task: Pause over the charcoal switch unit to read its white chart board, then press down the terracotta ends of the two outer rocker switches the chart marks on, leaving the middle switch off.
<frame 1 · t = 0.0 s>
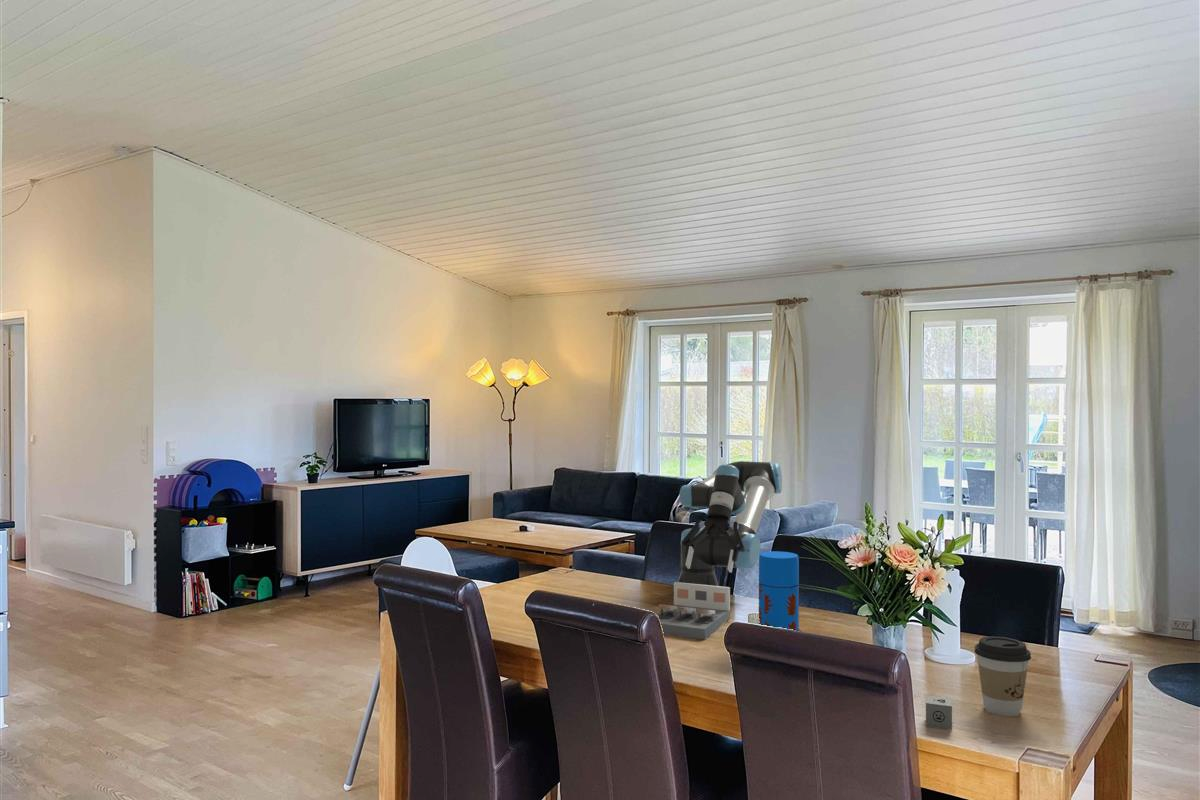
hand: (708, 568, 263), 15 cm above the table, tool tilted 35°, fingers open, 13 cm apart
coffee cup: (1002, 711, 185), on the table
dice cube: (939, 725, 178), on the table
switch 2: (686, 609, 252), point 5 cm above the table, hinge at -14.0°
switch 3: (706, 611, 250), point 5 cm above the table, hinge at -14.0°
thermos: (778, 645, 234), on the table
switch 1: (668, 607, 255), point 5 cm above the table, hinge at -14.0°
switch unit: (689, 625, 254), on the table
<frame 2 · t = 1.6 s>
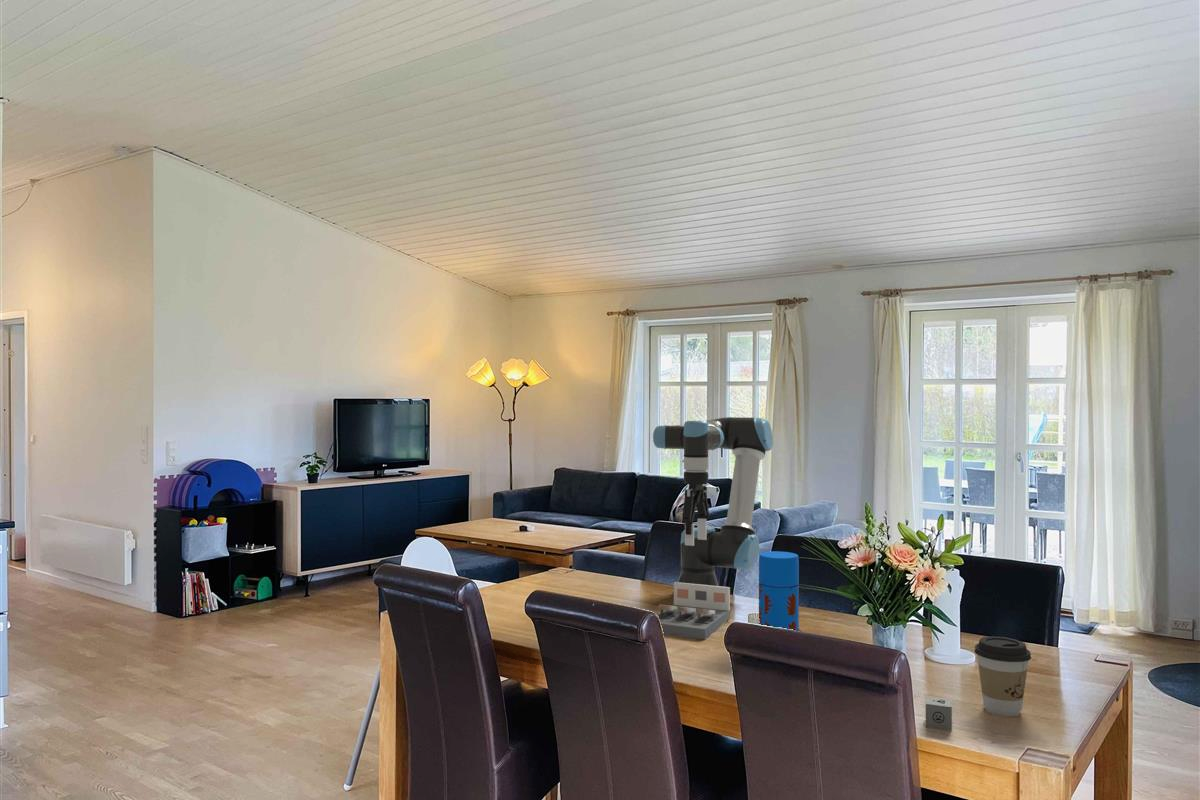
hand: (695, 542, 260), 24 cm above the table, tool pointing down, fingers open, 11 cm apart
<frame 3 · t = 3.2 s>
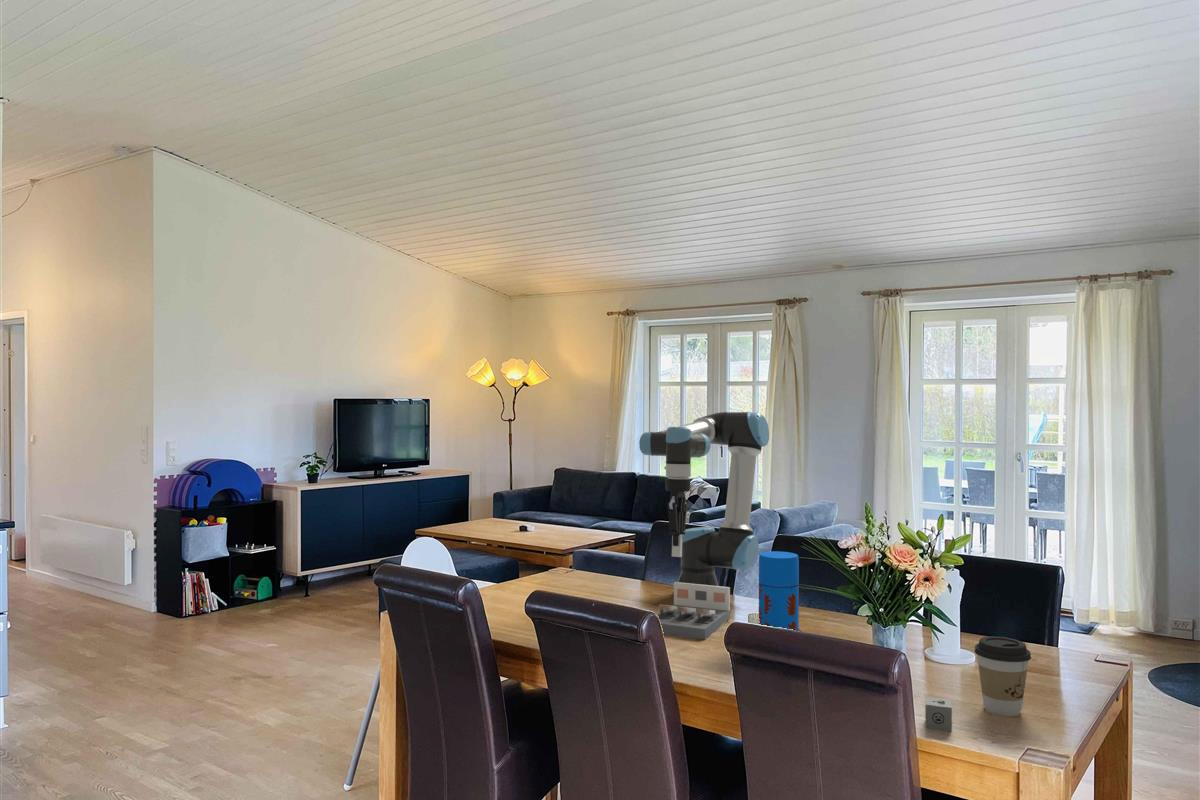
hand: (676, 556, 254), 21 cm above the table, tool pointing down, fingers closed
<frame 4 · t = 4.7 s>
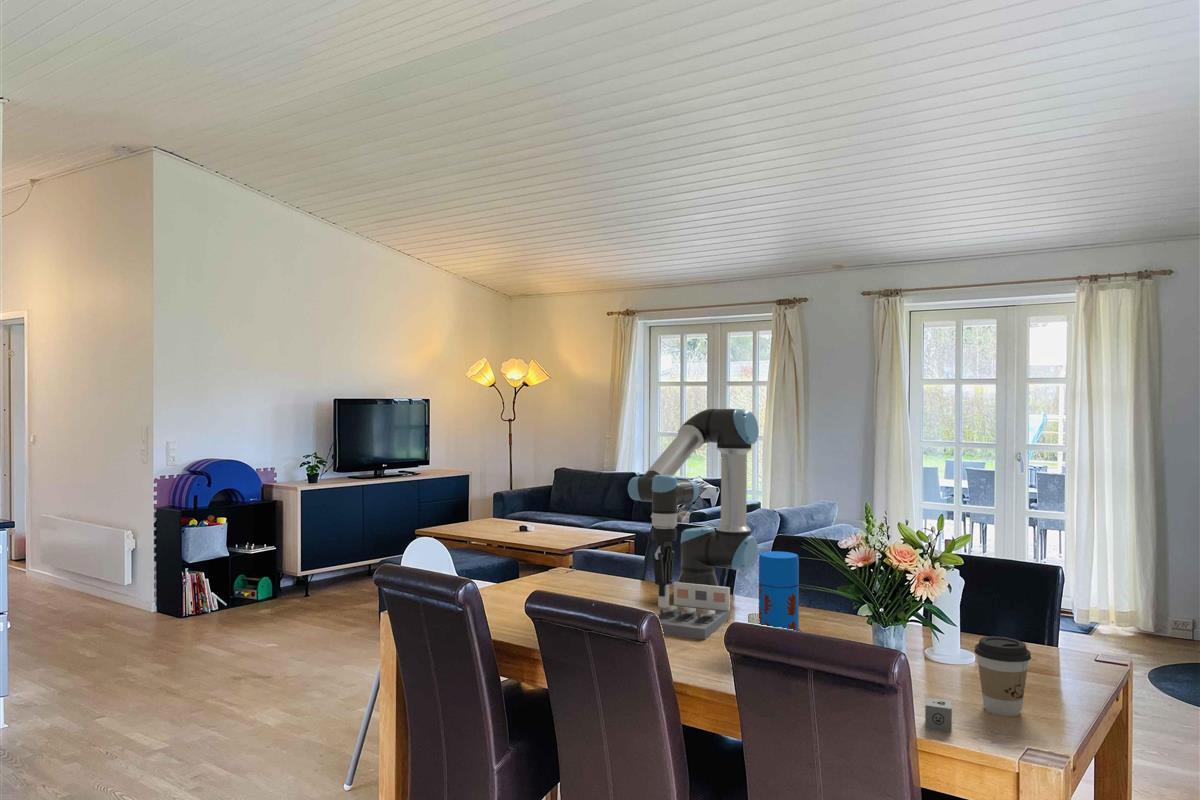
hand: (663, 606, 252), 6 cm above the table, tool pointing down, fingers closed
switch 1: (668, 607, 255), point 5 cm above the table, hinge at -13.4°, touching gripper
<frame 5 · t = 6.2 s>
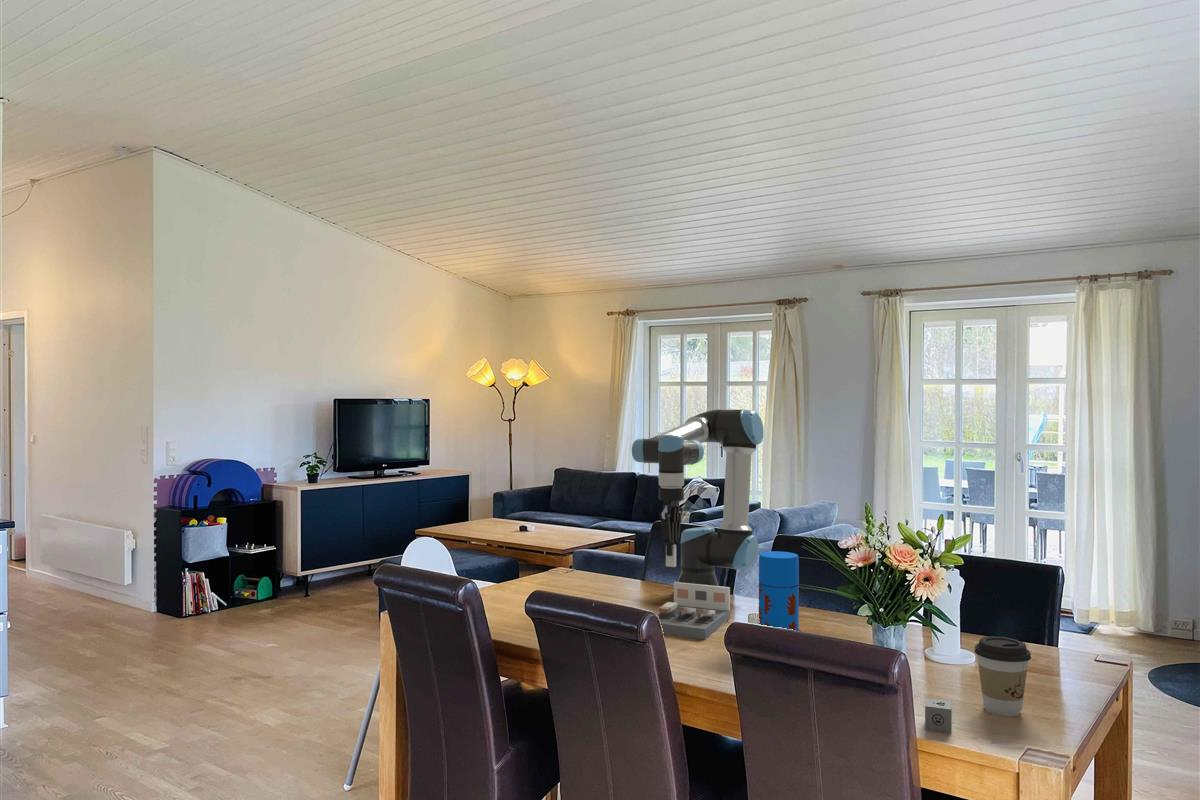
hand: (671, 566, 251), 18 cm above the table, tool pointing down, fingers closed
switch 1: (668, 607, 255), point 5 cm above the table, hinge at 0.9°
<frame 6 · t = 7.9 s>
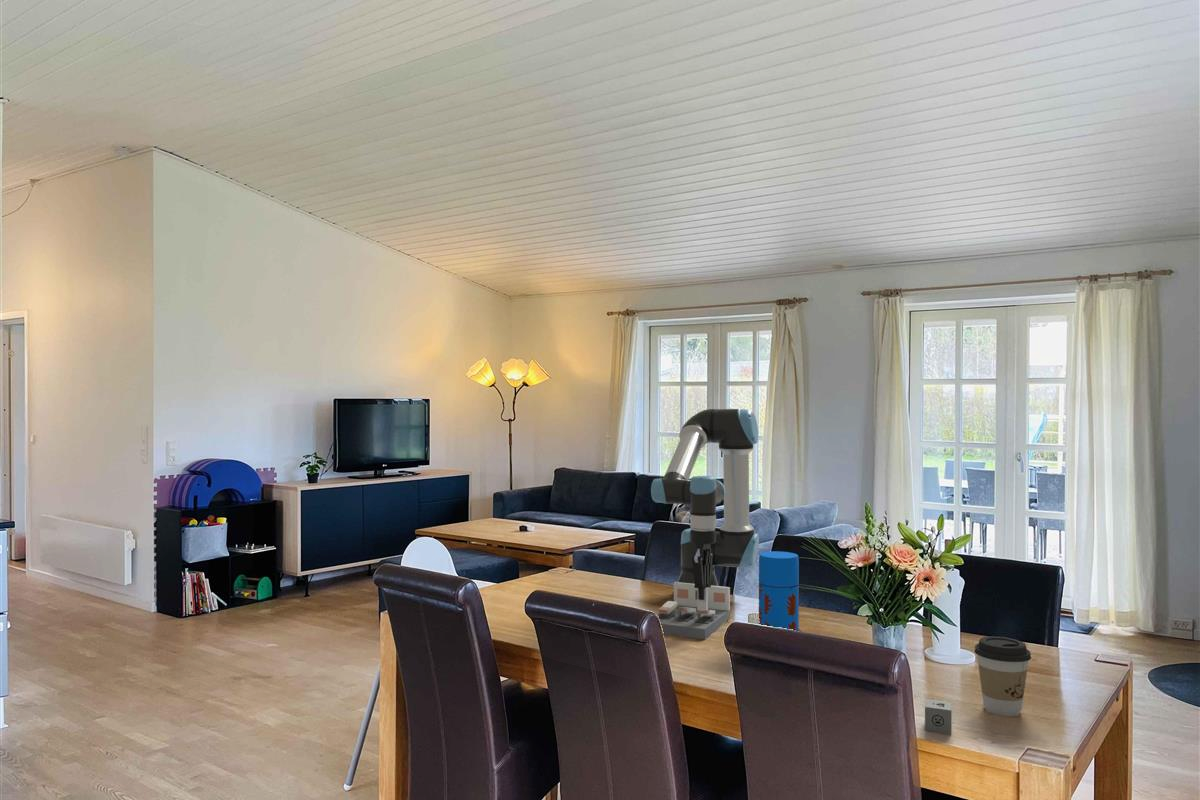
hand: (702, 610, 247), 7 cm above the table, tool pointing down, fingers closed
switch 3: (706, 611, 250), point 5 cm above the table, hinge at -14.0°, touching gripper
switch 1: (668, 607, 255), point 5 cm above the table, hinge at 5.9°
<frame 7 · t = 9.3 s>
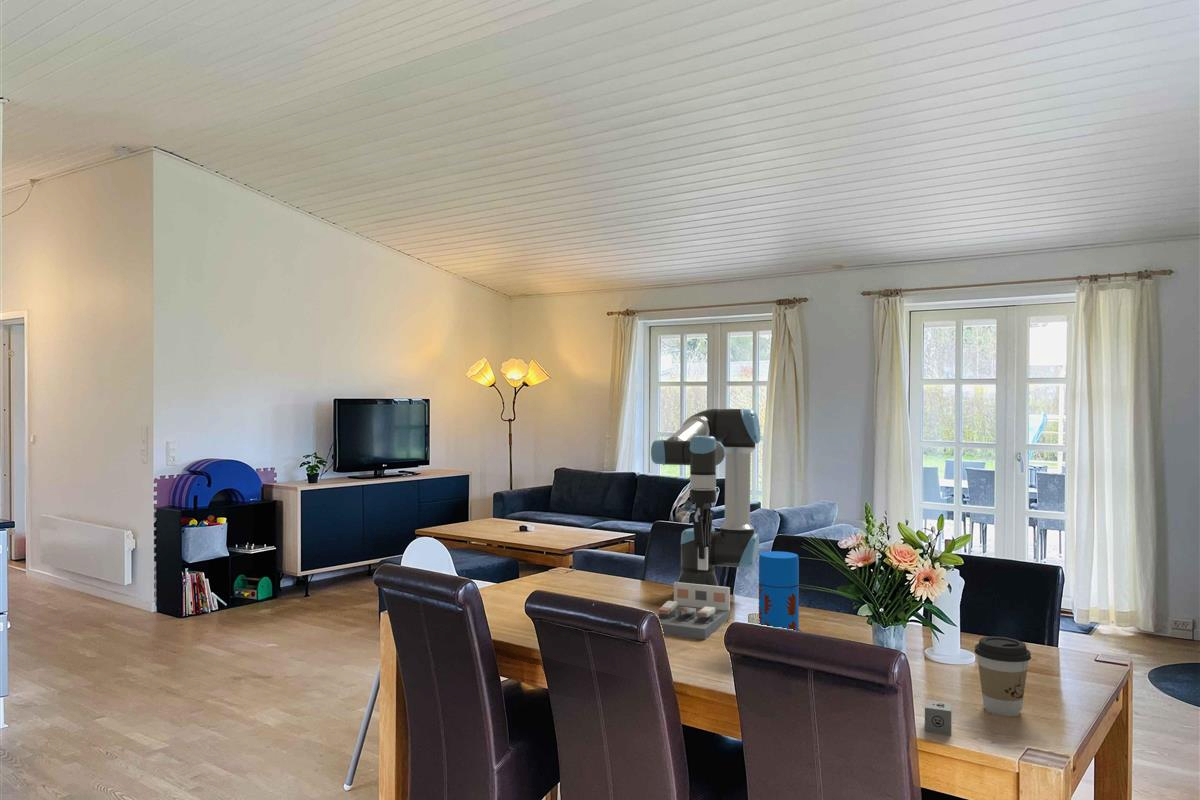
hand: (702, 569, 247), 18 cm above the table, tool pointing down, fingers closed
switch 3: (706, 611, 250), point 5 cm above the table, hinge at -0.6°
switch 1: (668, 607, 255), point 5 cm above the table, hinge at 7.0°
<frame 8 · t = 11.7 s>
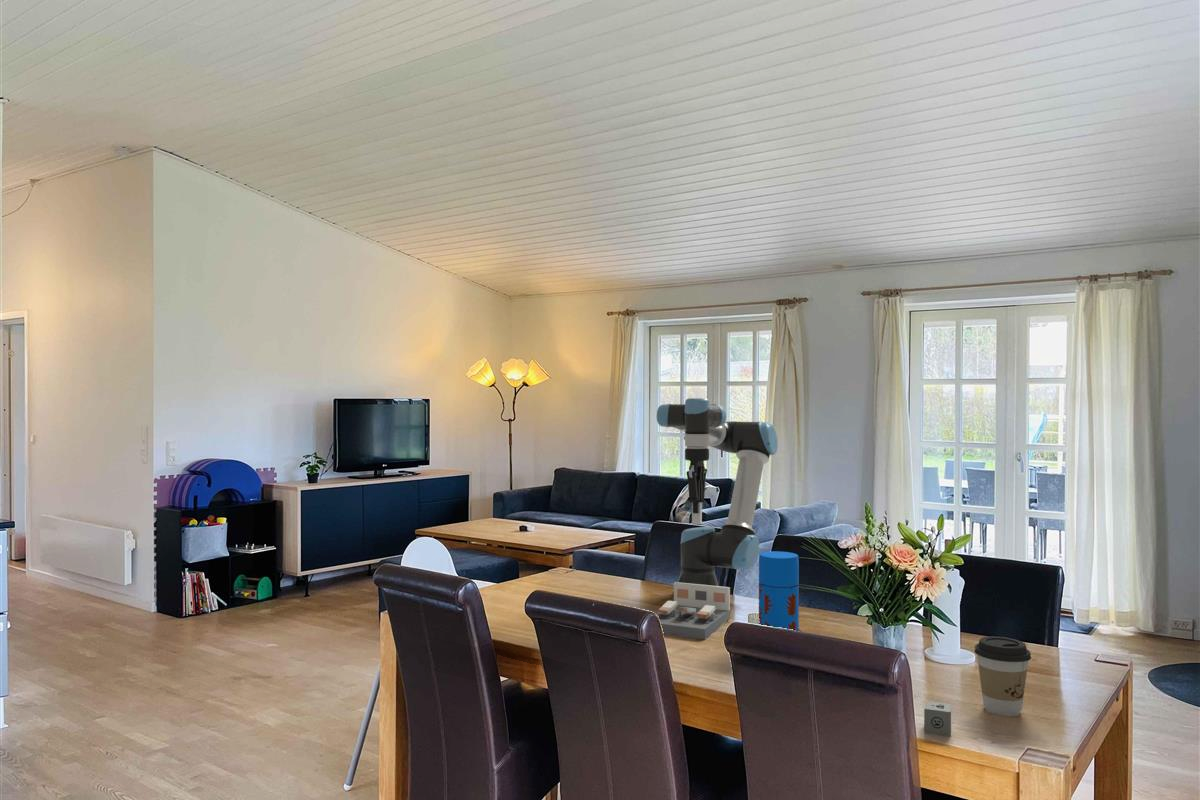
hand: (696, 523, 264), 29 cm above the table, tool pointing down, fingers closed
switch 3: (706, 611, 250), point 5 cm above the table, hinge at 5.8°
switch 1: (668, 607, 255), point 5 cm above the table, hinge at 7.5°
at the end: switch 1 at +8° (first picture: -14°); switch 3 at +6° (first picture: -14°); switch 2 at -14° (first picture: -14°) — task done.
